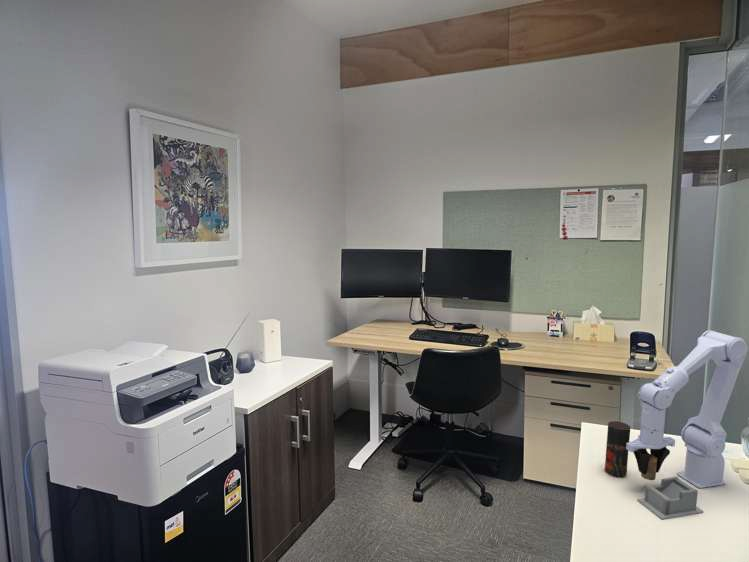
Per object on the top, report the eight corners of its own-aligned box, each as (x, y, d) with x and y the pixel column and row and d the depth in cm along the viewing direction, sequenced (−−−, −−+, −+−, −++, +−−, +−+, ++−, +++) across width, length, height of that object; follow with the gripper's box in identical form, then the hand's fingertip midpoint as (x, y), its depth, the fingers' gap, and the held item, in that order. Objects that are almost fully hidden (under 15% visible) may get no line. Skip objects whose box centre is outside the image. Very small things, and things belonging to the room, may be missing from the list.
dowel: (648, 472, 140) (650, 453, 139) (658, 479, 137) (660, 459, 136) (638, 474, 139) (639, 454, 139) (647, 480, 136) (649, 460, 135)
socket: (676, 494, 135) (678, 474, 134) (703, 512, 127) (705, 491, 126) (637, 500, 132) (638, 480, 131) (661, 519, 124) (663, 498, 123)
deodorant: (629, 478, 143) (633, 430, 141) (607, 476, 144) (611, 428, 142) (623, 468, 149) (626, 422, 147) (602, 466, 150) (605, 420, 148)
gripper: (662, 417, 141) (658, 461, 143) (619, 423, 138) (616, 467, 140) (682, 428, 135) (678, 474, 137) (638, 434, 131) (634, 480, 133)
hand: (648, 471), depth 138 cm, fingers closed on dowel, 4 cm apart
